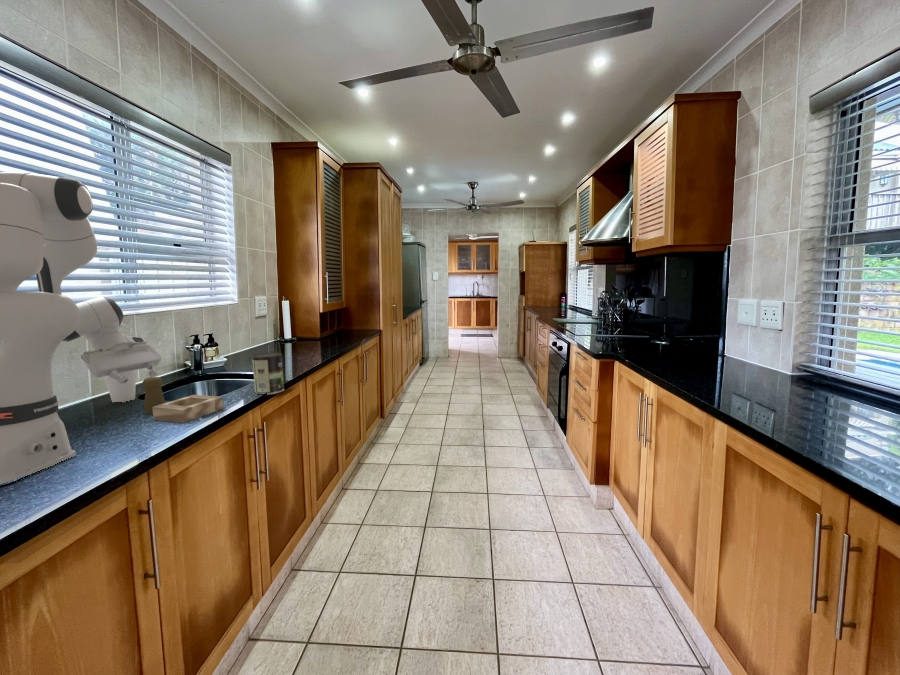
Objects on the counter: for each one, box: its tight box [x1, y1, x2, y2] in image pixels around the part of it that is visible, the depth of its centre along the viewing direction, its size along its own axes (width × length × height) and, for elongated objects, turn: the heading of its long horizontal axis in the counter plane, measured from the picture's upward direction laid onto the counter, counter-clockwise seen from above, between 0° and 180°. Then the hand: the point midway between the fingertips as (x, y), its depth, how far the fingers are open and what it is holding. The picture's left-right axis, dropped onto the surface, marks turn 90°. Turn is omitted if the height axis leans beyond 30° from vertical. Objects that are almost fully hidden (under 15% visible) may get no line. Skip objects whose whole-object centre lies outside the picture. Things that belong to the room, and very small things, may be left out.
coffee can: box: [251, 352, 285, 396], centre depth 152 cm, size 10×10×14 cm
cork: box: [142, 376, 166, 415], centre depth 131 cm, size 6×6×11 cm
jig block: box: [152, 394, 224, 423], centre depth 127 cm, size 14×12×4 cm
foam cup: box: [103, 370, 137, 403], centre depth 144 cm, size 10×9×13 cm
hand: (140, 378), depth 131 cm, fingers open, 8 cm apart
